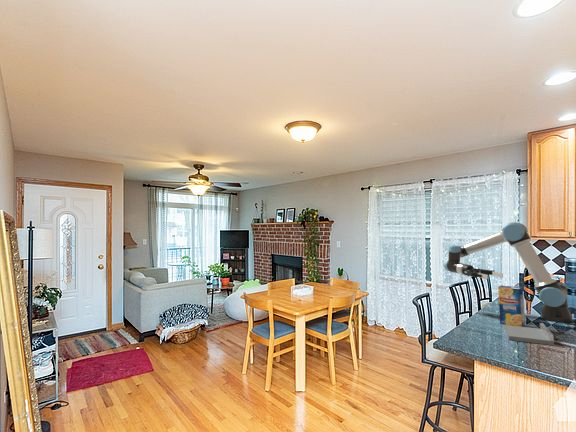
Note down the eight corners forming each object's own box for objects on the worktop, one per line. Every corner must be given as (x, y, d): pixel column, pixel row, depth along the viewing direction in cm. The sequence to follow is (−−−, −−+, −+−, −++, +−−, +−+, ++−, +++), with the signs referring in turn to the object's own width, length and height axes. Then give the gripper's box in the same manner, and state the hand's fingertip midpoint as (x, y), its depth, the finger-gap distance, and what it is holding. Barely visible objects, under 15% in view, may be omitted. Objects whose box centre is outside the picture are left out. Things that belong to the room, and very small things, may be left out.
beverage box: (522, 327, 183) (519, 288, 184) (500, 323, 191) (498, 286, 192) (525, 325, 187) (523, 287, 188) (503, 321, 195) (501, 285, 197)
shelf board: (504, 328, 181) (504, 324, 181) (543, 332, 173) (543, 329, 173) (508, 339, 162) (508, 335, 162) (553, 345, 153) (553, 341, 154)
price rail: (540, 328, 173) (539, 323, 174) (543, 329, 173) (543, 323, 173) (549, 340, 154) (549, 334, 154) (553, 341, 154) (553, 334, 154)
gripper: (478, 273, 224) (508, 280, 205) (451, 276, 215) (480, 283, 196) (478, 263, 224) (508, 269, 204) (452, 265, 215) (481, 271, 195)
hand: (495, 276), depth 200 cm, fingers open, 13 cm apart
